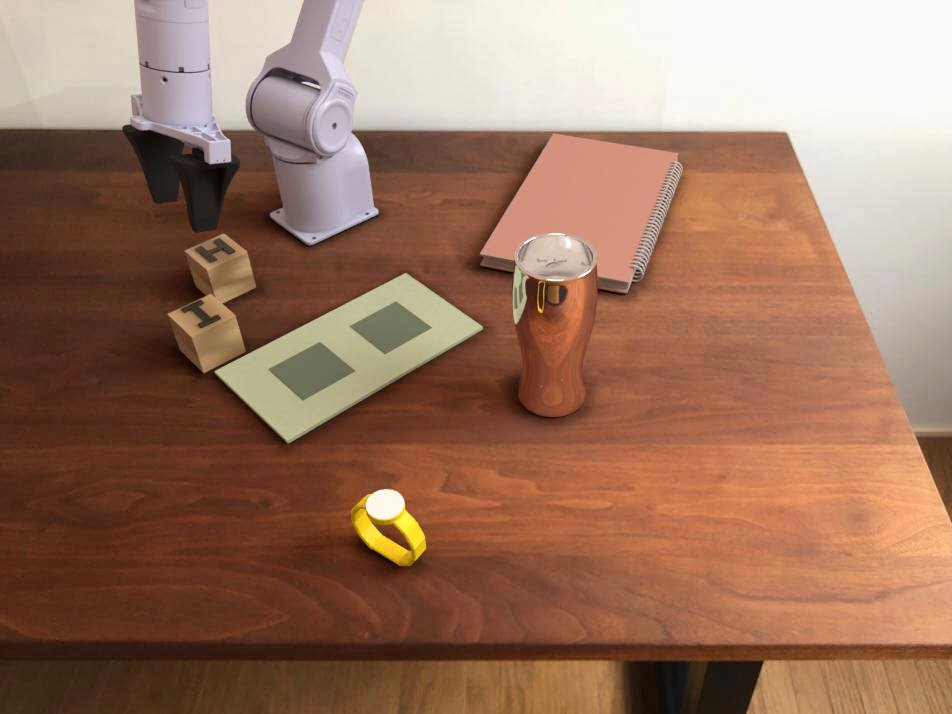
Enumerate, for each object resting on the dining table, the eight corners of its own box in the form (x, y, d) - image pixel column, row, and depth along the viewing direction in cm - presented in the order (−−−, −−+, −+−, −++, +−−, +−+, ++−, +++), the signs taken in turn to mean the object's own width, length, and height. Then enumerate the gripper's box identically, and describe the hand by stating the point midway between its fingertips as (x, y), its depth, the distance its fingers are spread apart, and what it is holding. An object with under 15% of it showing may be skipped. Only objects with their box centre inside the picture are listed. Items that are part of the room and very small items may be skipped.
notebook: (637, 297, 90) (638, 281, 89) (480, 267, 94) (479, 251, 92) (685, 167, 109) (687, 152, 108) (553, 145, 112) (553, 131, 111)
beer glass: (501, 379, 81) (498, 241, 71) (570, 360, 83) (577, 223, 73) (531, 430, 77) (532, 290, 66) (603, 408, 79) (615, 269, 68)
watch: (349, 548, 68) (337, 498, 64) (372, 523, 70) (362, 473, 65) (412, 583, 66) (404, 534, 61) (434, 557, 67) (428, 507, 63)
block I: (222, 330, 86) (210, 291, 83) (246, 351, 84) (235, 313, 81) (180, 350, 84) (166, 312, 81) (203, 373, 82) (190, 335, 78)
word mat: (406, 275, 93) (405, 272, 92) (482, 329, 86) (482, 325, 86) (215, 374, 82) (213, 370, 81) (287, 444, 75) (286, 440, 75)
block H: (234, 269, 93) (223, 231, 90) (256, 287, 91) (246, 249, 88) (195, 286, 91) (183, 248, 88) (217, 306, 89) (206, 268, 85)
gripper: (91, 44, 78) (107, 194, 85) (170, 89, 70) (180, 251, 77) (169, 43, 83) (178, 185, 90) (252, 85, 75) (254, 237, 82)
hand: (184, 215), depth 84 cm, fingers open, 7 cm apart
